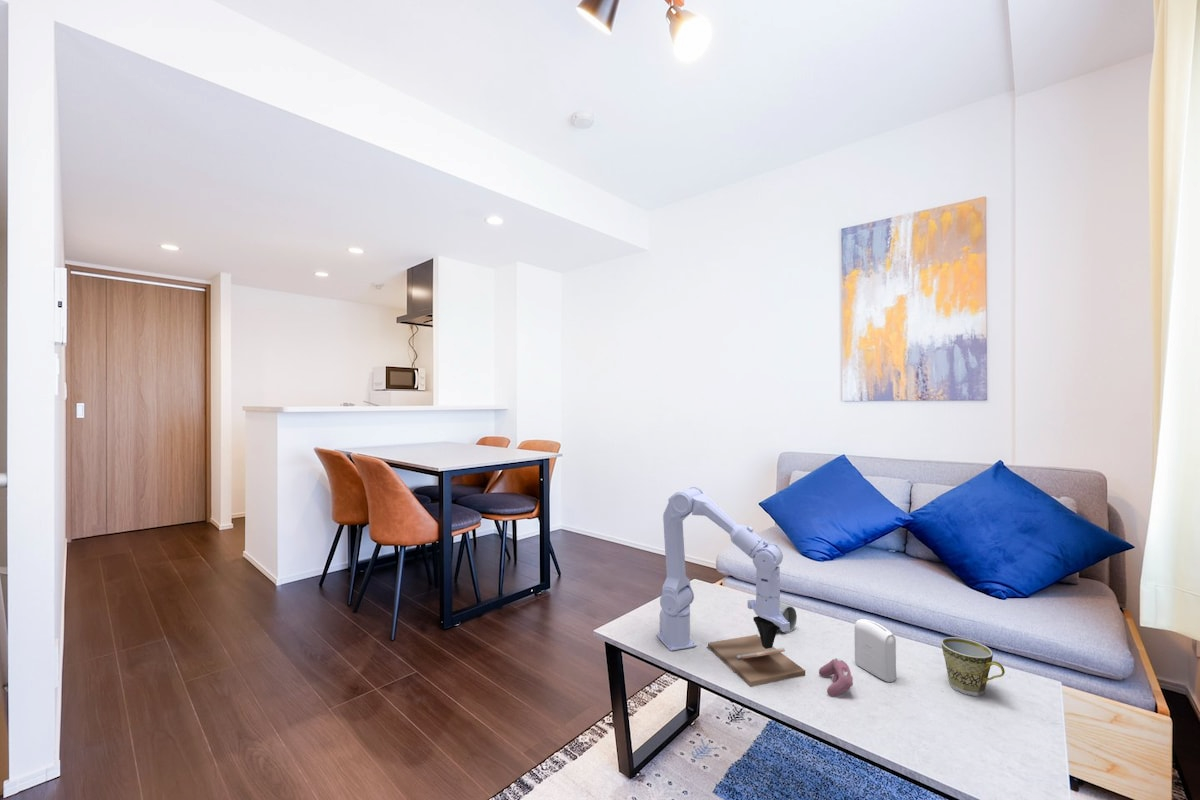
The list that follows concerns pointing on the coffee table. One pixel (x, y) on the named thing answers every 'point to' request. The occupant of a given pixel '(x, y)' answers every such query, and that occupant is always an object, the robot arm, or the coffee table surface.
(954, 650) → the ceramic cup
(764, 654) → the hinged panel
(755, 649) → the board
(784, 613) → the ceramic mug
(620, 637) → the coffee table surface
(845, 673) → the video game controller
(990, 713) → the coffee table surface
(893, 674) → the photo printer
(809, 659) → the coffee table surface
